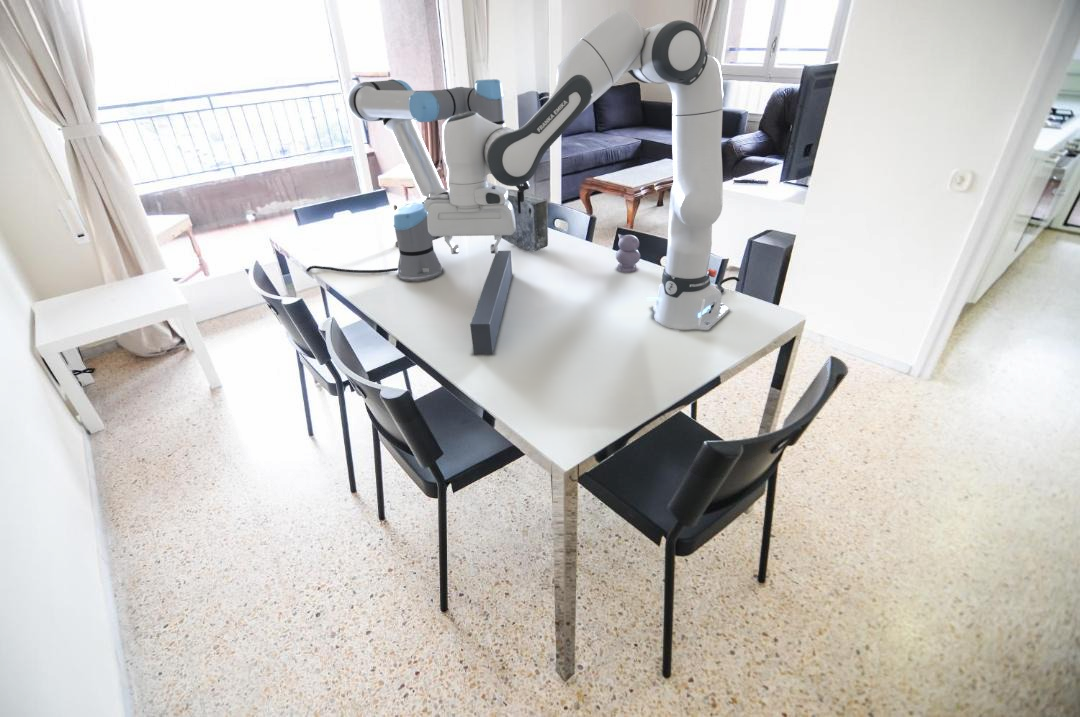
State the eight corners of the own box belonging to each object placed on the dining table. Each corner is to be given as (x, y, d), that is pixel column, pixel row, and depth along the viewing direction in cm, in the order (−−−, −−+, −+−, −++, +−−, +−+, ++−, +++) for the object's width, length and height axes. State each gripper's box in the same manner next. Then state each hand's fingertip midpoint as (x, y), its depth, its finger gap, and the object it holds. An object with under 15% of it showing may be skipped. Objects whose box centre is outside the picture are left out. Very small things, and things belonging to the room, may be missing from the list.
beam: (498, 275, 173) (496, 250, 168) (512, 274, 172) (510, 250, 168) (473, 354, 127) (470, 324, 123) (492, 354, 127) (489, 324, 122)
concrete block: (553, 252, 189) (552, 199, 179) (534, 258, 185) (532, 204, 175) (514, 236, 208) (511, 187, 198) (496, 241, 204) (492, 191, 193)
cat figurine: (643, 268, 173) (646, 234, 167) (631, 275, 168) (633, 240, 162) (623, 263, 178) (625, 230, 172) (610, 269, 173) (611, 235, 167)
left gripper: (448, 143, 143) (457, 216, 154) (534, 140, 141) (537, 215, 152) (453, 139, 149) (461, 210, 160) (536, 136, 148) (538, 208, 159)
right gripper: (419, 197, 109) (428, 258, 116) (511, 196, 107) (515, 257, 115) (426, 191, 114) (434, 249, 121) (514, 189, 113) (518, 248, 120)
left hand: (498, 212), depth 156 cm, fingers open, 13 cm apart
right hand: (474, 253), depth 118 cm, fingers open, 8 cm apart
